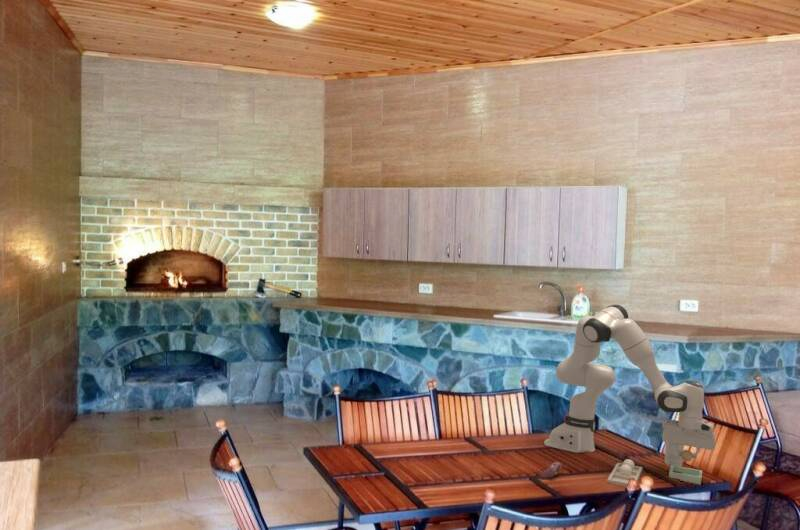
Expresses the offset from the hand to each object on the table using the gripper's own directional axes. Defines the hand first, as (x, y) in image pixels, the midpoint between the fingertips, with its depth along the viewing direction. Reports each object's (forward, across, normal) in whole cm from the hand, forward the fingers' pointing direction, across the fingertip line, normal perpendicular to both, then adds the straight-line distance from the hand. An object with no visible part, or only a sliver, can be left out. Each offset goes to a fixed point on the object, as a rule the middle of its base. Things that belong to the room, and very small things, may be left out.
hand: (686, 456), depth 304 cm
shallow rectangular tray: (+9, -21, -17) cm, 28 cm away
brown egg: (+2, 0, 0) cm, 2 cm away
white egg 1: (+8, -21, -8) cm, 24 cm away
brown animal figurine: (+10, -47, -34) cm, 58 cm away
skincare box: (+9, -6, +19) cm, 22 cm away
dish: (+9, 0, +1) cm, 9 cm away
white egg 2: (+8, -21, -17) cm, 28 cm away
